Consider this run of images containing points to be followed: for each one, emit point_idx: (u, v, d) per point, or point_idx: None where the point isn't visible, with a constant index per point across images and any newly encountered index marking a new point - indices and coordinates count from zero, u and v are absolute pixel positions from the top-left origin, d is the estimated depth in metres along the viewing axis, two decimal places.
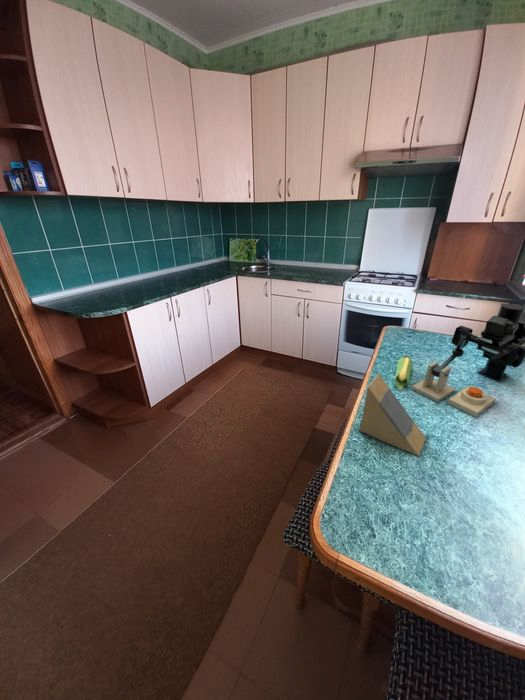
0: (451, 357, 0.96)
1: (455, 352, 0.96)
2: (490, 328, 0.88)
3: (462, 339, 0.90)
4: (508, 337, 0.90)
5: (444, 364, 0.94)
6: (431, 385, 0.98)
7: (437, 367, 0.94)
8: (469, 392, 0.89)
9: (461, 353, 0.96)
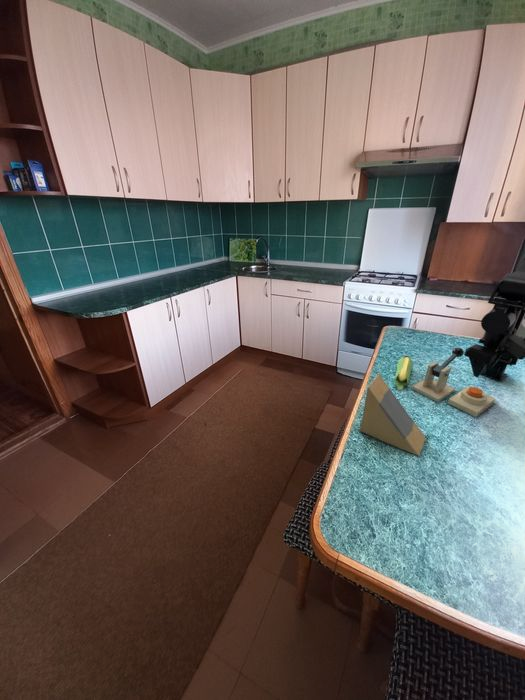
0: (451, 357, 0.96)
1: (455, 352, 0.96)
2: None
3: (483, 368, 0.81)
4: None
5: (444, 364, 0.94)
6: (431, 385, 0.98)
7: (437, 367, 0.94)
8: (469, 392, 0.89)
9: (461, 353, 0.96)
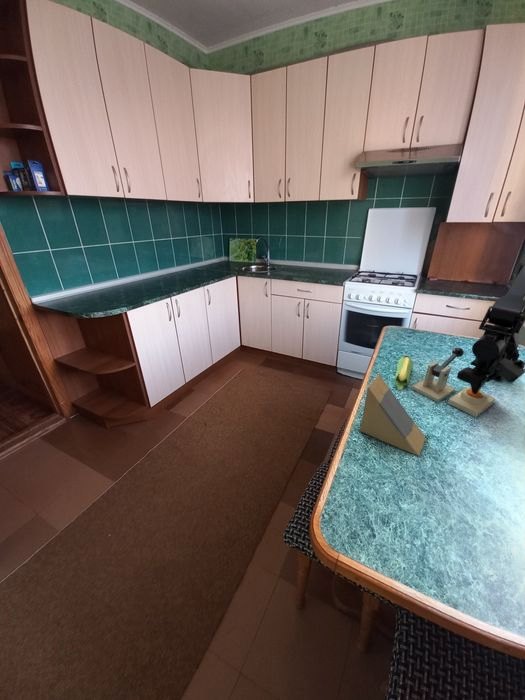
0: (451, 357, 0.96)
1: (455, 352, 0.96)
2: None
3: (481, 385, 0.86)
4: None
5: (444, 364, 0.94)
6: (431, 385, 0.98)
7: (437, 367, 0.94)
8: None
9: (461, 353, 0.96)
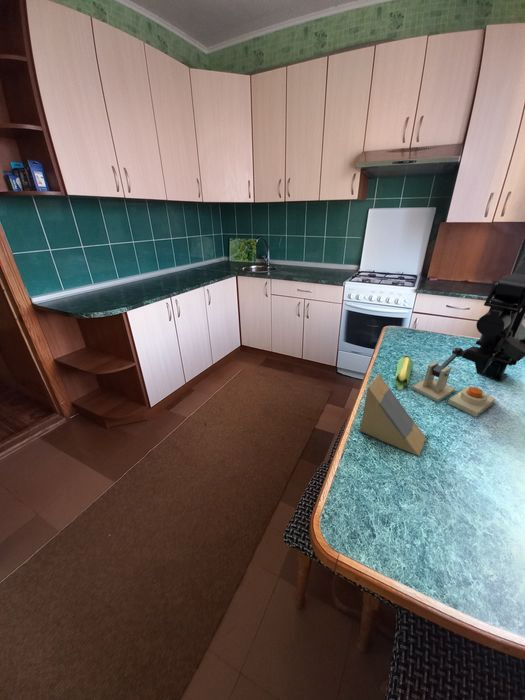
0: (451, 357, 0.96)
1: (455, 352, 0.96)
2: None
3: (487, 365, 0.84)
4: None
5: (444, 364, 0.94)
6: (431, 385, 0.98)
7: (437, 367, 0.94)
8: (469, 392, 0.89)
9: (461, 353, 0.96)
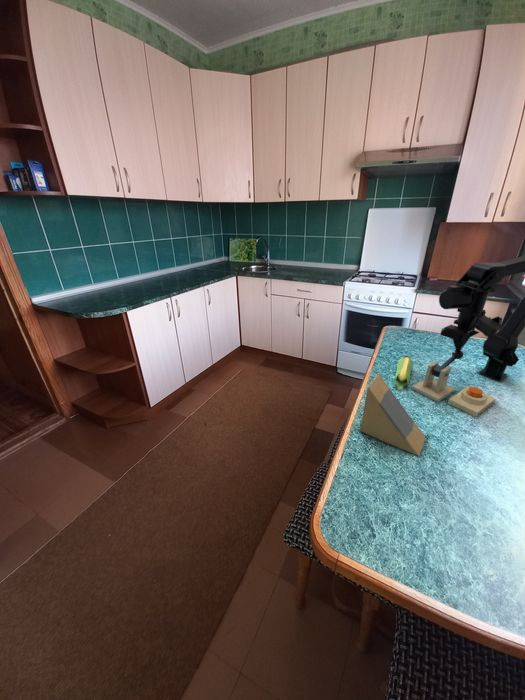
0: (451, 358, 0.96)
1: (455, 354, 0.97)
2: None
3: (463, 342, 0.94)
4: None
5: (444, 365, 0.95)
6: (431, 385, 0.98)
7: (437, 367, 0.94)
8: (469, 392, 0.89)
9: (461, 355, 0.96)
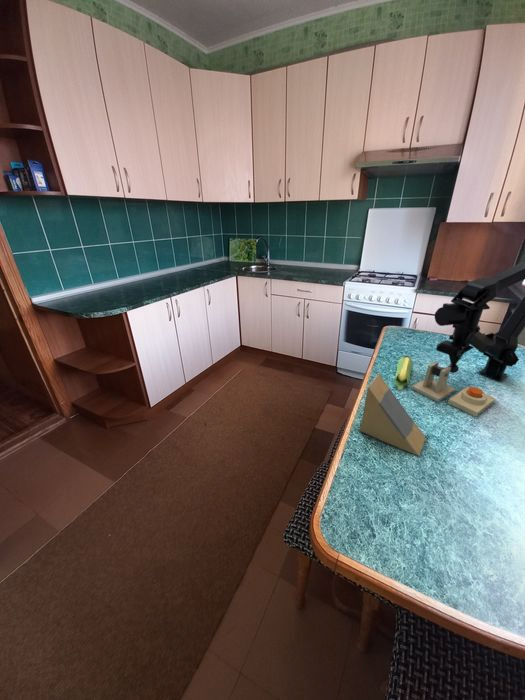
0: None
1: (452, 366, 0.99)
2: None
3: (459, 357, 0.96)
4: None
5: None
6: (431, 385, 0.98)
7: (438, 367, 0.94)
8: (469, 392, 0.89)
9: (457, 368, 0.99)
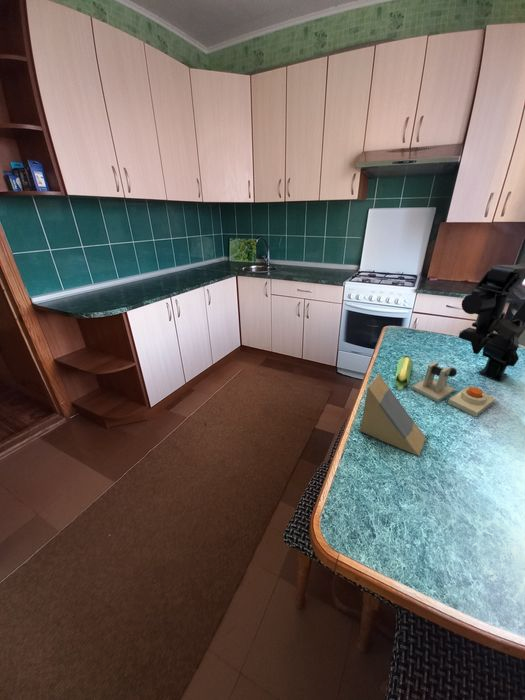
0: None
1: None
2: None
3: (482, 345, 0.92)
4: None
5: None
6: (431, 385, 0.98)
7: (438, 367, 0.94)
8: (469, 392, 0.89)
9: (455, 372, 0.99)
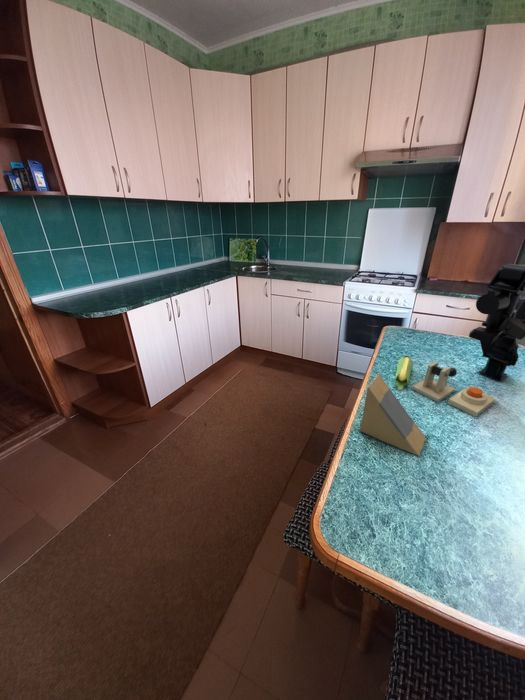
0: None
1: None
2: None
3: (492, 345, 0.92)
4: None
5: None
6: (431, 385, 0.98)
7: (438, 367, 0.94)
8: (469, 392, 0.89)
9: (455, 372, 0.99)
